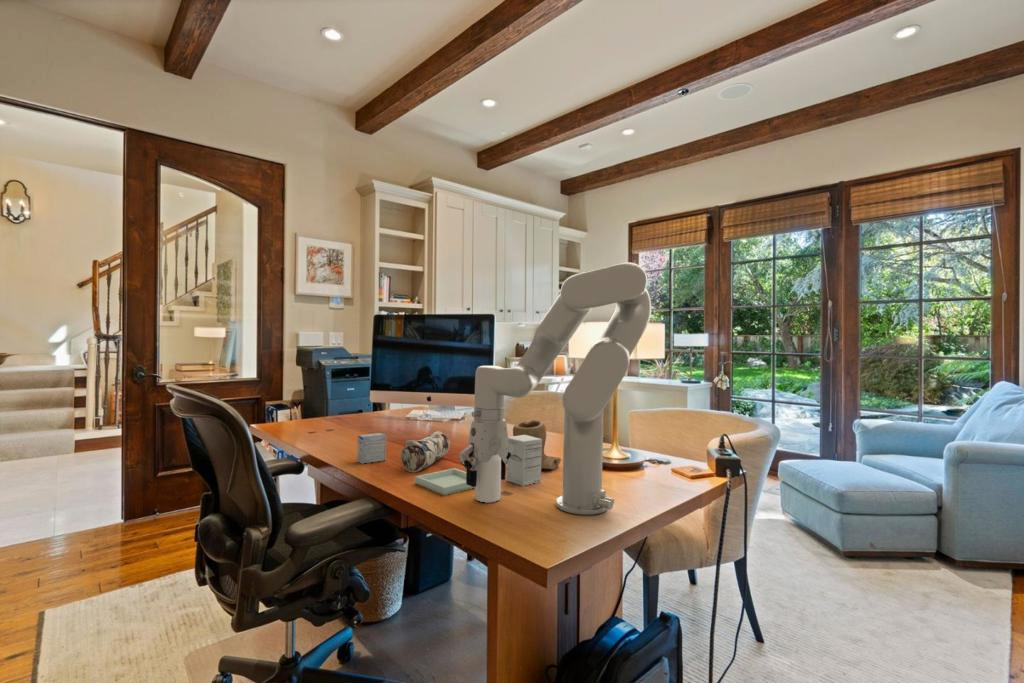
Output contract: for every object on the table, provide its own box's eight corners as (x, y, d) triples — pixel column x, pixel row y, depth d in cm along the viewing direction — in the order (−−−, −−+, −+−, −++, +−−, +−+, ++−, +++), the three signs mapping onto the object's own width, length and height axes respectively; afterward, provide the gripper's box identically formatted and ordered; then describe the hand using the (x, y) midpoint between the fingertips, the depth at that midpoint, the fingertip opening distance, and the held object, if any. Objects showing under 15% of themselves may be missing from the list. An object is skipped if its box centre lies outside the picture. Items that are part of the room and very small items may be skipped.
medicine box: (379, 458, 163) (380, 432, 163) (385, 461, 159) (386, 434, 159) (357, 461, 157) (357, 435, 157) (362, 464, 154) (363, 437, 154)
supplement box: (505, 480, 139) (506, 436, 139) (524, 476, 144) (525, 434, 144) (522, 487, 134) (523, 441, 134) (541, 482, 139) (542, 438, 139)
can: (501, 495, 126) (502, 449, 126) (498, 504, 119) (499, 455, 119) (477, 494, 126) (478, 448, 126) (472, 502, 120) (473, 454, 120)
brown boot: (506, 471, 150) (507, 422, 150) (515, 462, 161) (516, 416, 161) (555, 475, 146) (556, 425, 146) (561, 465, 158) (561, 419, 158)
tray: (484, 485, 134) (484, 478, 134) (444, 495, 125) (444, 487, 125) (454, 475, 144) (454, 468, 144) (415, 483, 135) (415, 476, 135)
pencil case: (424, 474, 145) (425, 441, 145) (398, 472, 147) (399, 439, 147) (451, 457, 166) (451, 429, 166) (428, 455, 168) (428, 427, 168)
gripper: (471, 419, 114) (468, 492, 114) (523, 414, 126) (520, 479, 126) (452, 415, 120) (449, 484, 120) (503, 410, 132) (501, 473, 132)
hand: (486, 482), depth 123 cm, fingers open, 9 cm apart
